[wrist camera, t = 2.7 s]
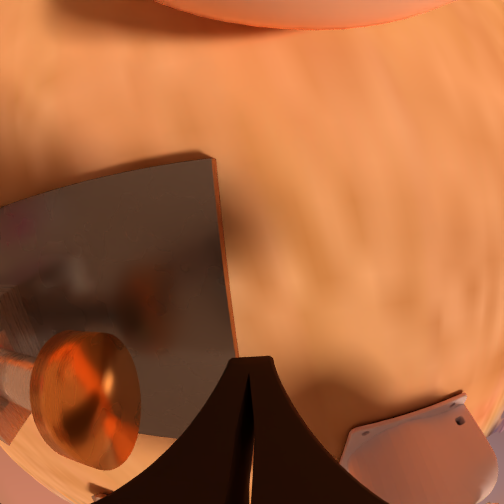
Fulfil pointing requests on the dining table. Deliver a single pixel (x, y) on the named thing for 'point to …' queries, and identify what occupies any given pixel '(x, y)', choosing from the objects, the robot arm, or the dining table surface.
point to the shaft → (78, 395)
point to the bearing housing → (125, 282)
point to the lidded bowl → (306, 12)
